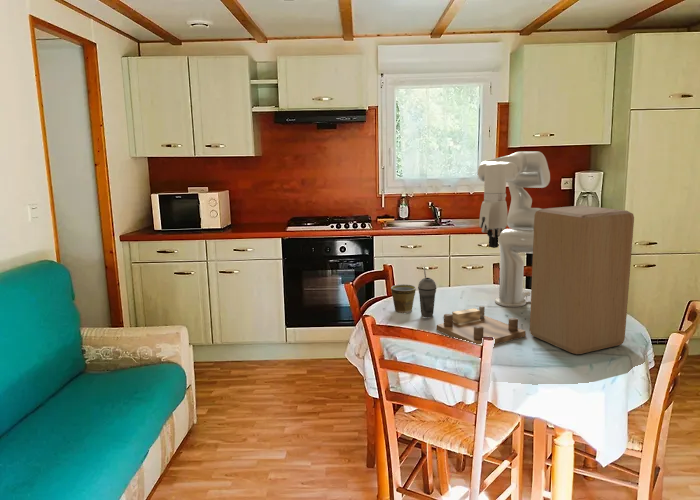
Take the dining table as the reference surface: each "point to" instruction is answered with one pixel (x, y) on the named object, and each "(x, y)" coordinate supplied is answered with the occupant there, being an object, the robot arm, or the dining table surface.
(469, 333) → the board
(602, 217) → the wooden block
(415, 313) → the dining table surface
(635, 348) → the dining table surface
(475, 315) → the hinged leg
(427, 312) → the beverage cup
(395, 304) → the ceramic cup
